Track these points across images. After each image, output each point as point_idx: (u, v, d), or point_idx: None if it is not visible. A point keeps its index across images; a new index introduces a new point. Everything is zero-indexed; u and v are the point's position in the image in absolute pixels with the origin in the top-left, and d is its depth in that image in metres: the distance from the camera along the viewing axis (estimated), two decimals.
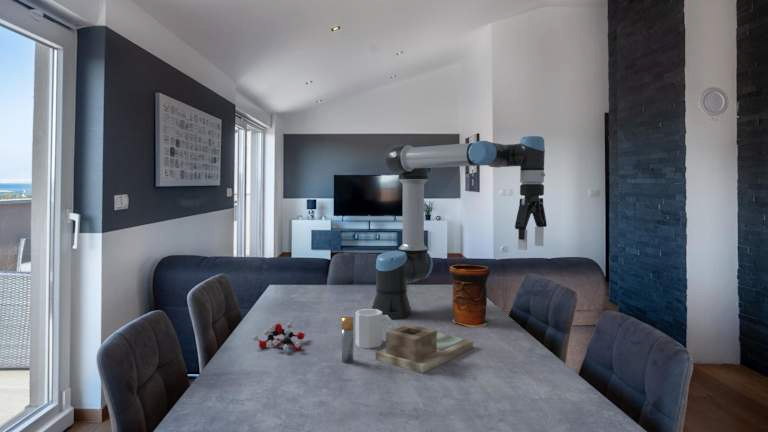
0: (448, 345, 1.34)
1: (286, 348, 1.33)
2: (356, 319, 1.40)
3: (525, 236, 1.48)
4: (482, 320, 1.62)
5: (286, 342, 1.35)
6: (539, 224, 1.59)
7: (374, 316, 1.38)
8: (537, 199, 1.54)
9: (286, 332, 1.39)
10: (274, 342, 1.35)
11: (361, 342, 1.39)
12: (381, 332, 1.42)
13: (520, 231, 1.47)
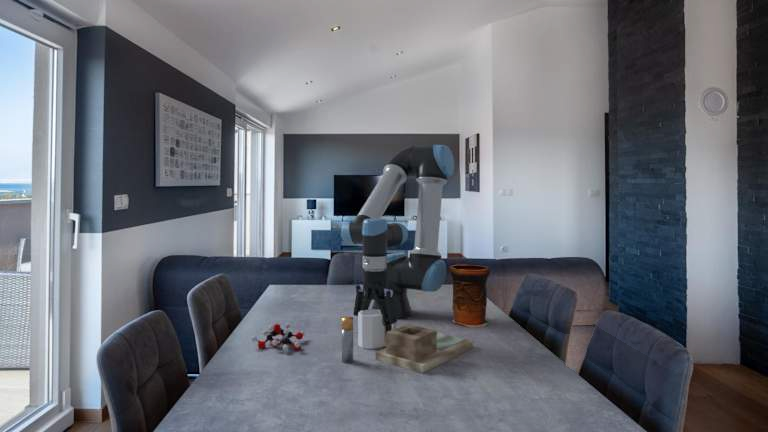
0: (448, 345, 1.34)
1: (286, 348, 1.33)
2: (359, 320, 1.39)
3: None
4: (482, 320, 1.62)
5: (285, 342, 1.36)
6: None
7: (377, 316, 1.38)
8: (377, 286, 1.39)
9: (285, 332, 1.39)
10: (273, 342, 1.35)
11: (364, 342, 1.38)
12: None
13: None
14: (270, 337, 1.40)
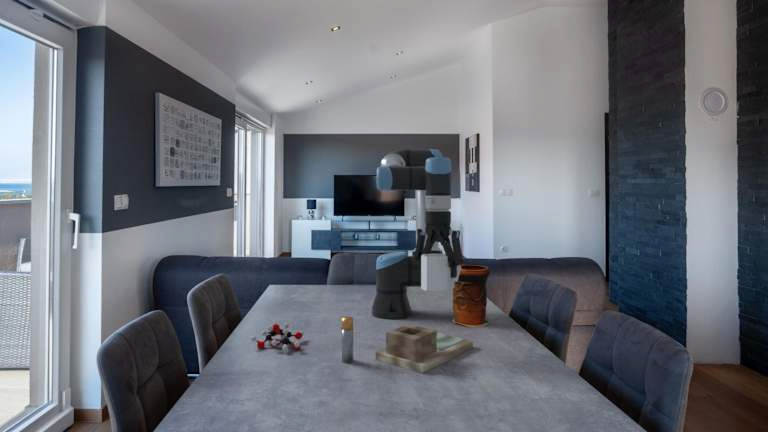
0: (448, 345, 1.34)
1: (286, 348, 1.33)
2: (423, 262, 1.34)
3: None
4: (482, 320, 1.62)
5: (285, 342, 1.35)
6: None
7: (443, 258, 1.33)
8: (442, 227, 1.34)
9: (284, 332, 1.39)
10: (273, 342, 1.35)
11: (429, 285, 1.33)
12: None
13: None
14: (269, 337, 1.40)
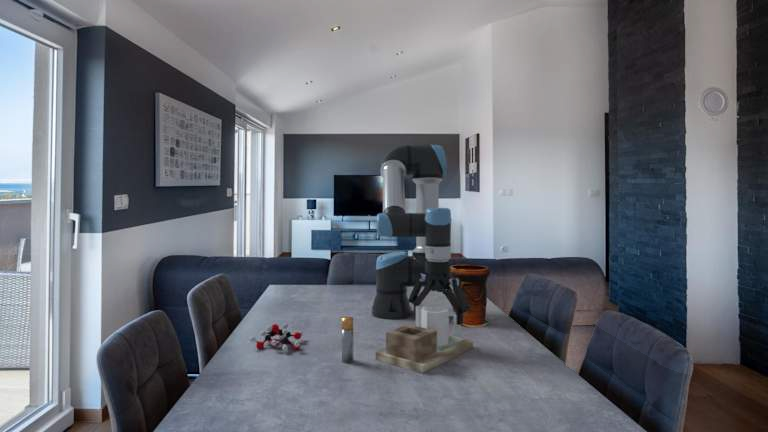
0: (448, 345, 1.34)
1: (285, 348, 1.33)
2: (423, 316, 1.35)
3: None
4: (482, 320, 1.62)
5: (285, 342, 1.36)
6: None
7: (443, 313, 1.33)
8: (441, 278, 1.35)
9: (284, 332, 1.39)
10: (273, 342, 1.35)
11: None
12: (448, 329, 1.37)
13: None
14: (268, 337, 1.40)
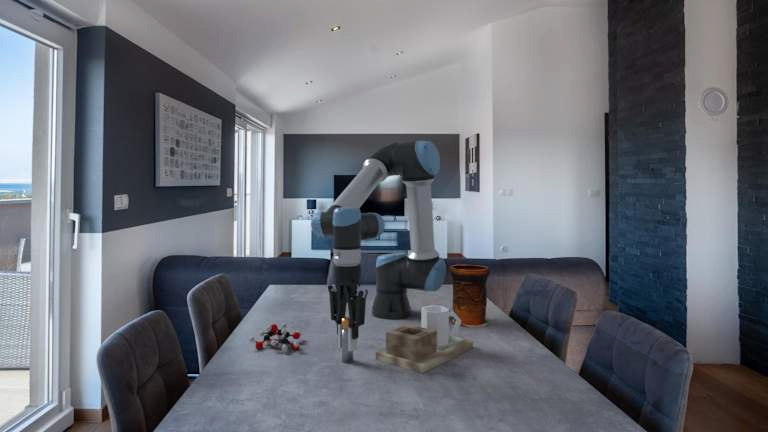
0: (448, 345, 1.34)
1: (285, 348, 1.33)
2: (423, 316, 1.35)
3: None
4: (482, 320, 1.62)
5: (284, 342, 1.36)
6: None
7: (443, 313, 1.33)
8: (350, 283, 1.24)
9: (283, 332, 1.39)
10: (272, 342, 1.35)
11: None
12: (448, 329, 1.37)
13: None
14: (267, 337, 1.39)
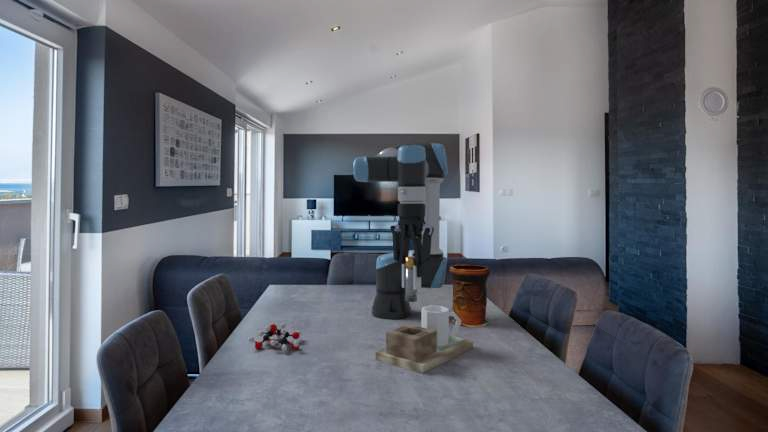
0: (448, 345, 1.34)
1: (285, 348, 1.33)
2: (423, 316, 1.35)
3: None
4: (482, 320, 1.62)
5: (284, 342, 1.36)
6: None
7: (443, 313, 1.33)
8: (416, 220, 1.24)
9: (283, 332, 1.39)
10: (272, 342, 1.35)
11: None
12: (448, 329, 1.37)
13: None
14: (267, 337, 1.39)
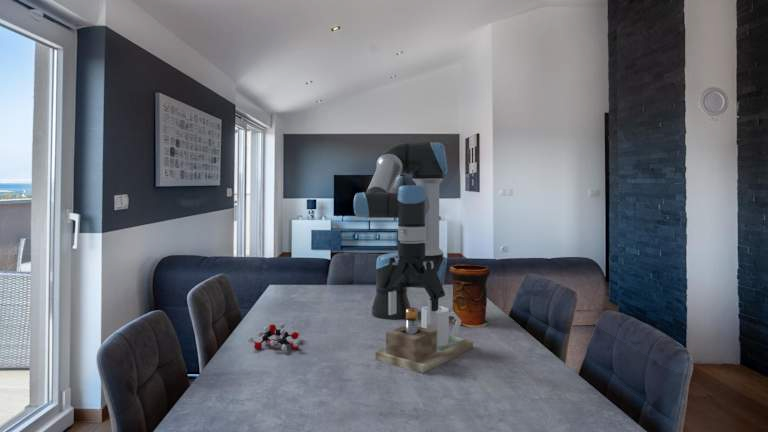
0: (448, 345, 1.34)
1: (285, 348, 1.33)
2: (423, 316, 1.35)
3: None
4: (482, 320, 1.62)
5: (284, 342, 1.36)
6: None
7: (443, 313, 1.33)
8: (415, 261, 1.25)
9: (282, 332, 1.39)
10: (271, 342, 1.35)
11: None
12: (448, 329, 1.37)
13: None
14: (266, 338, 1.39)
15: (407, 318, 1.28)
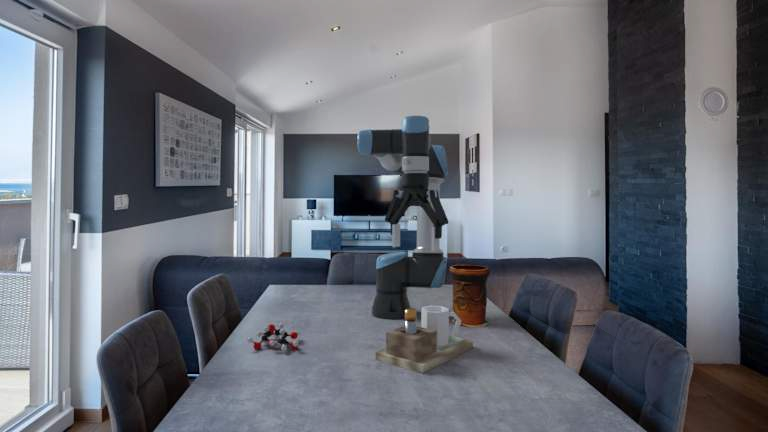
0: (448, 345, 1.34)
1: (285, 348, 1.33)
2: (423, 316, 1.35)
3: None
4: (482, 320, 1.62)
5: (283, 342, 1.36)
6: None
7: (443, 313, 1.33)
8: (419, 191, 1.27)
9: (281, 332, 1.39)
10: (271, 342, 1.35)
11: None
12: (448, 329, 1.37)
13: None
14: (265, 338, 1.39)
15: (406, 319, 1.27)
